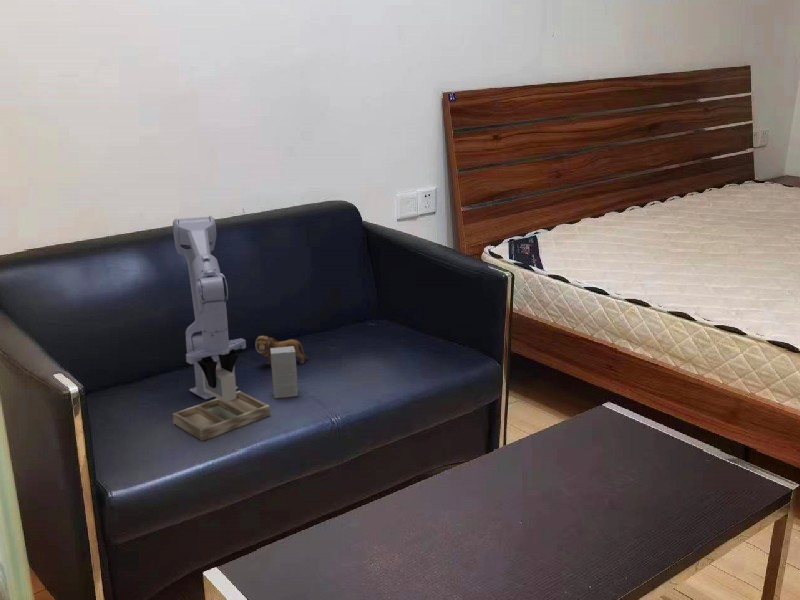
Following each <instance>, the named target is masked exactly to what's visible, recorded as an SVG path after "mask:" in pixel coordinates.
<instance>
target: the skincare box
mask: <svg viewBox="0 0 800 600" xmlns="http://www.w3.org/2000/svg"><path fill="white" fill-rule="evenodd" d="M270 353H271V364H270V367H271V366H272V367H271V375H272V376H271V377H272V378H271V379H272V390H273V391H272V392H273V399H282V398H292V397H293V398H294V397H298V396H299V386H298V372H297V371H298V370H297V358H296V357H297V356H296V352H295V349H294V346H290V347H279V348H270Z"/></svg>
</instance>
